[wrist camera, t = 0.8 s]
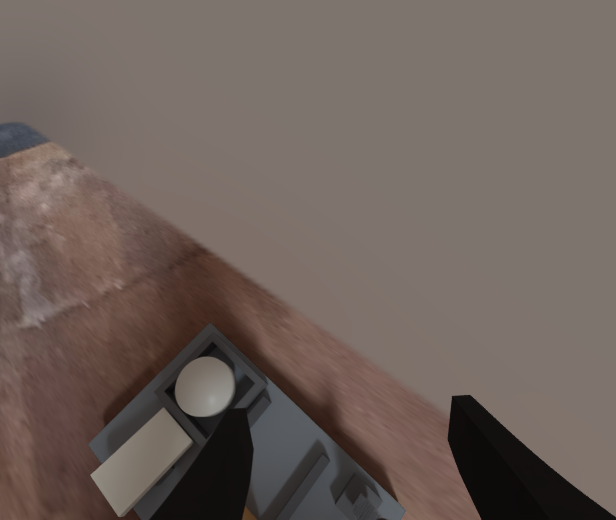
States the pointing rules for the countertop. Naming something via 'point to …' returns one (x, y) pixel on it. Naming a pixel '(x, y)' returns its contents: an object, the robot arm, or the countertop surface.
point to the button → (205, 387)
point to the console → (266, 441)
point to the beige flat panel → (141, 461)
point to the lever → (365, 509)
